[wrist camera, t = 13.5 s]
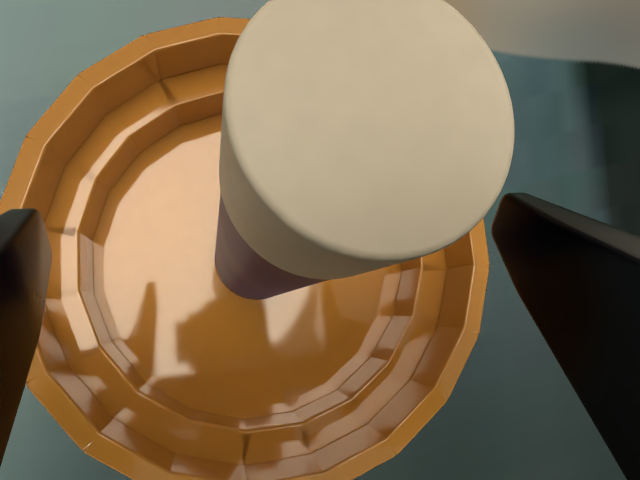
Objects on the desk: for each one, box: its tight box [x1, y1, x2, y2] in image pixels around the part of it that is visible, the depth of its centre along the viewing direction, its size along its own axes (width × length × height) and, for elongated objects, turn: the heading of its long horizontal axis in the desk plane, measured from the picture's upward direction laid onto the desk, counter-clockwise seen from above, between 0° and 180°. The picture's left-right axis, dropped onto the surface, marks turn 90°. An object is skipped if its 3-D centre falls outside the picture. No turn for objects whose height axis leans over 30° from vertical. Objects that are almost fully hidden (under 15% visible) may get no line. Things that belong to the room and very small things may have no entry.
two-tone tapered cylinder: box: [215, 0, 514, 300], centre depth 11 cm, size 3×3×13 cm
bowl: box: [0, 17, 490, 480], centre depth 16 cm, size 14×14×4 cm
